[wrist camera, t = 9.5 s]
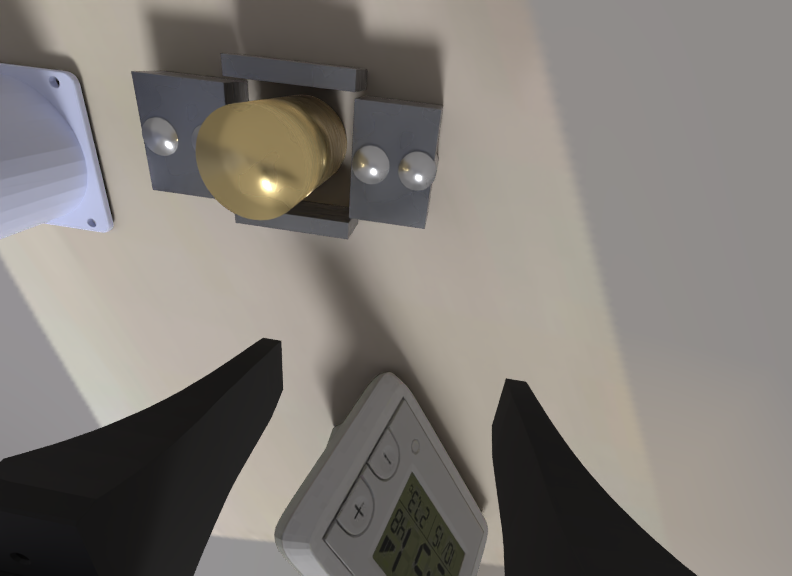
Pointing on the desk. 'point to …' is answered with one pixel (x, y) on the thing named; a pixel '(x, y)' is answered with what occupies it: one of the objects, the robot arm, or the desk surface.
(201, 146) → the link pin
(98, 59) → the desk surface
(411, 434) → the digital clock
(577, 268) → the desk surface
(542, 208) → the desk surface
